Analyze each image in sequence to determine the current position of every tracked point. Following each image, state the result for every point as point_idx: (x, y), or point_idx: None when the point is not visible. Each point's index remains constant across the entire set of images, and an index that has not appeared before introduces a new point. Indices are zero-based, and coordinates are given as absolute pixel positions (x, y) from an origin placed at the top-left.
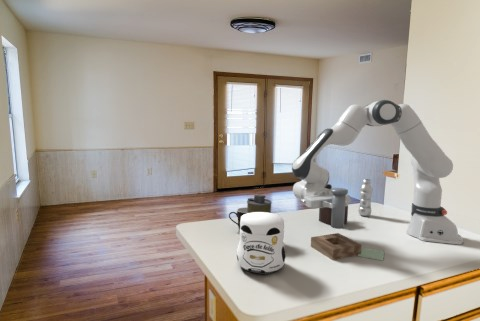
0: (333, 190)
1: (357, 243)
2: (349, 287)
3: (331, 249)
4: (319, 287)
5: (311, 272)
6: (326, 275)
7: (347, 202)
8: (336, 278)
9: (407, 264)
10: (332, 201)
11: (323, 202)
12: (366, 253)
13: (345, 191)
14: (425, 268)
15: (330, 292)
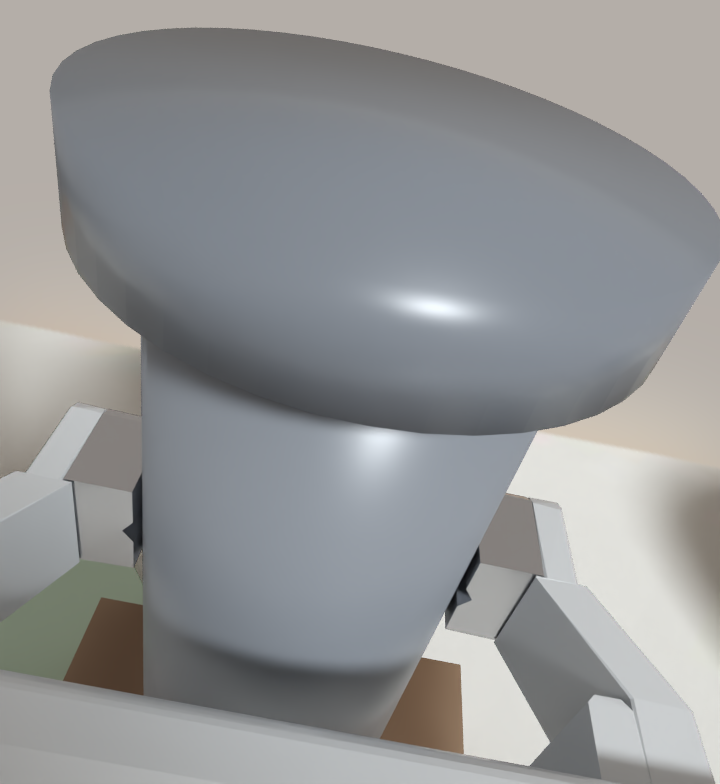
0: (694, 187)
1: (101, 640)
2: (554, 451)
3: (460, 690)
4: (702, 520)
5: (693, 650)
6: (610, 575)
7: (83, 404)
8: (570, 526)
9: (25, 402)
10: (474, 551)
11: (691, 766)
12: (64, 621)
13: (390, 55)
14: (8, 342)
15: (665, 472)
